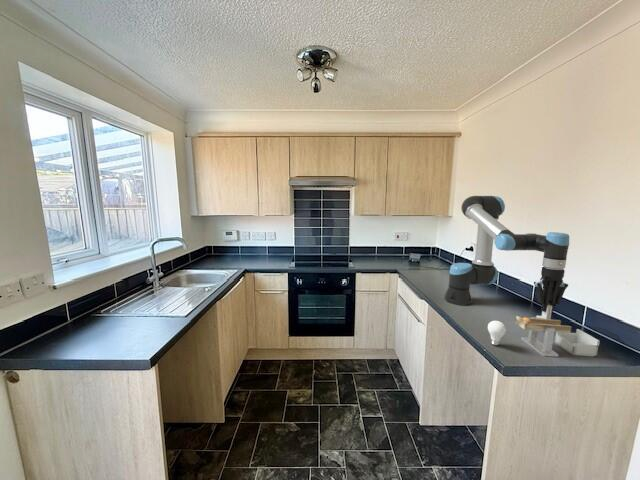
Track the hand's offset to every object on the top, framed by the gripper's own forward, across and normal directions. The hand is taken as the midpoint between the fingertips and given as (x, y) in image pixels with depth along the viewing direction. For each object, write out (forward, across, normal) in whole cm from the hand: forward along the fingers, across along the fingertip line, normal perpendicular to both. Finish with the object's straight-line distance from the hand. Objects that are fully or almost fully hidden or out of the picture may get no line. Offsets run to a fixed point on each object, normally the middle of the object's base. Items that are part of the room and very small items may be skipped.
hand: (545, 318), depth 119 cm
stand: (+10, -7, -7) cm, 14 cm away
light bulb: (+10, -25, -7) cm, 28 cm away
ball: (-2, -14, -8) cm, 16 cm away
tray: (+10, +8, -8) cm, 15 cm away
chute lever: (+2, -7, -4) cm, 8 cm away
